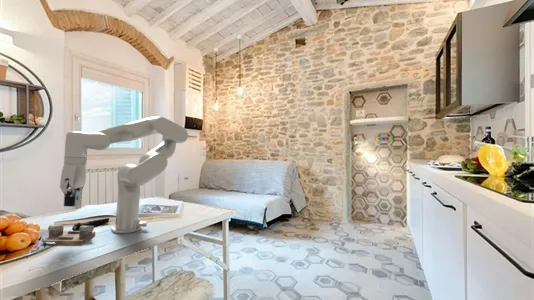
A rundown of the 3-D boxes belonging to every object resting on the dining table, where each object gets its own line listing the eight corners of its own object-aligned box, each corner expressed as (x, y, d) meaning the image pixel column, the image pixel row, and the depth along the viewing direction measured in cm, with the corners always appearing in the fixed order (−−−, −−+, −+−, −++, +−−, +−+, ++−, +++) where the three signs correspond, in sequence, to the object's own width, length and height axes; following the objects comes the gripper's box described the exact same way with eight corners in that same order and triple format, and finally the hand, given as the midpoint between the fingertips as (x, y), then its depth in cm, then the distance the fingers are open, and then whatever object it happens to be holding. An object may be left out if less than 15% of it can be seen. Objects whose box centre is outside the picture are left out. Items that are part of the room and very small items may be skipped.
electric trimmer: (110, 224, 129) (111, 218, 130) (75, 231, 116) (75, 224, 116) (106, 223, 131) (107, 216, 131) (71, 229, 118) (72, 222, 118)
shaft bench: (97, 235, 113) (98, 222, 113) (84, 244, 102) (85, 230, 102) (57, 234, 110) (58, 221, 110) (39, 244, 99) (40, 229, 99)
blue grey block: (61, 206, 104) (62, 191, 104) (68, 203, 108) (69, 189, 108) (77, 206, 105) (78, 192, 104) (82, 204, 109) (83, 190, 109)
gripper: (77, 159, 114) (74, 200, 114) (52, 161, 97) (48, 209, 97) (95, 160, 115) (92, 200, 115) (73, 163, 98) (70, 210, 99)
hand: (72, 204), depth 106 cm, fingers closed on blue grey block, 4 cm apart
